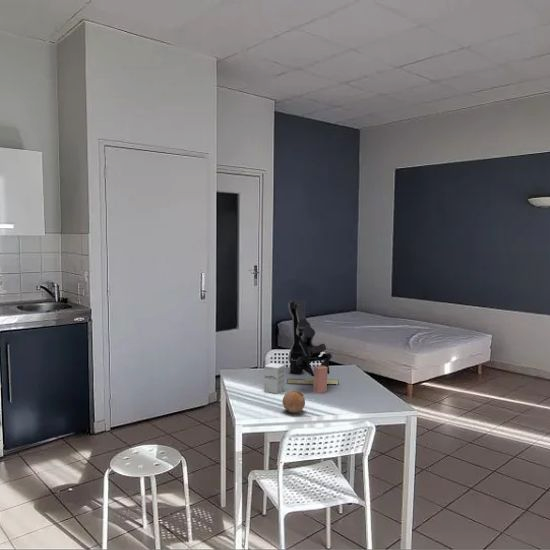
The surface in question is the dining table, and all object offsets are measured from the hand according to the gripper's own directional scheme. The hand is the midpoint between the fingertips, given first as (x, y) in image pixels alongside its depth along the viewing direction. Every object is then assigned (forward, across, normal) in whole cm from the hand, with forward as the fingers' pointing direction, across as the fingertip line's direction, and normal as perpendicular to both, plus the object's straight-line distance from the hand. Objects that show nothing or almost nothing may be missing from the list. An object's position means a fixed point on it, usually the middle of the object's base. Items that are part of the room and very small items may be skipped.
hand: (321, 374), depth 246 cm
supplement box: (-2, -19, +14) cm, 24 cm away
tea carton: (+5, 0, +6) cm, 8 cm away
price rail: (-3, +5, +15) cm, 16 cm away
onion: (+18, -28, -6) cm, 33 cm away
